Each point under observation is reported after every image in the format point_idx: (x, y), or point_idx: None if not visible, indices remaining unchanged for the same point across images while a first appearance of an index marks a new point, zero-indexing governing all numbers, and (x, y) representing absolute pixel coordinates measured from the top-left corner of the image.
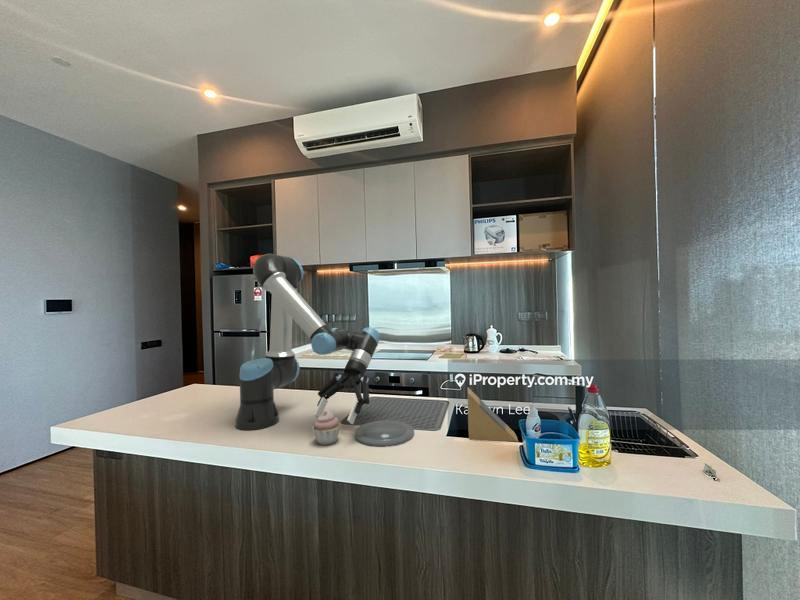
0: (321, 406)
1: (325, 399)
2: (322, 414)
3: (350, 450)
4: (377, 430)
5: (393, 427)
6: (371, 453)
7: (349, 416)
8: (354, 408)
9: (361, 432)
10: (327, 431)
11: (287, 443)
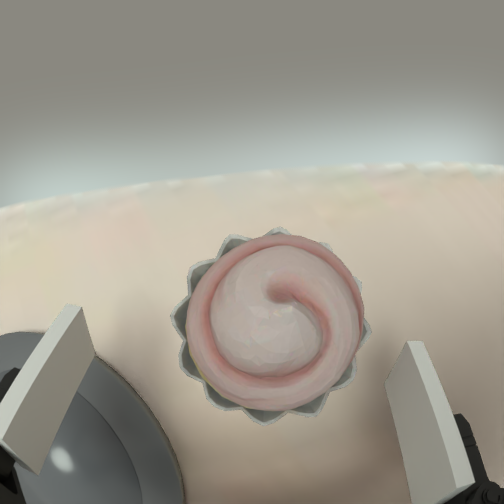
0: (422, 425)
1: (436, 496)
2: (334, 327)
3: (104, 269)
4: (65, 468)
5: (31, 500)
6: (26, 269)
7: (61, 323)
8: (18, 380)
9: (122, 440)
10: (219, 251)
11: (425, 243)
